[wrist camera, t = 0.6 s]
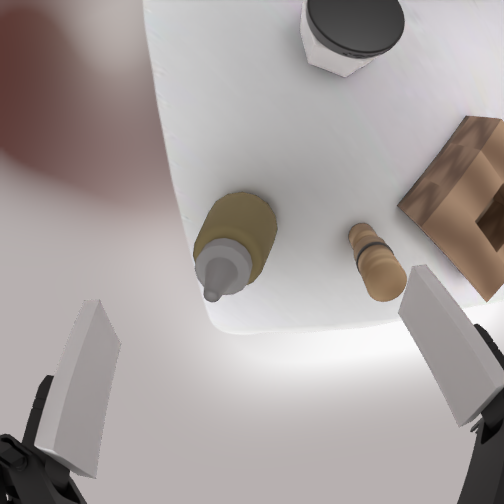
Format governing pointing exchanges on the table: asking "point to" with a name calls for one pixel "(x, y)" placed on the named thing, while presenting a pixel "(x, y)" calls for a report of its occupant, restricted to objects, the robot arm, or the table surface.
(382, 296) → the oak peg
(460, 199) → the walnut socket block
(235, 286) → the squeeze bottle
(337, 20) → the jar
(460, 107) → the table surface
